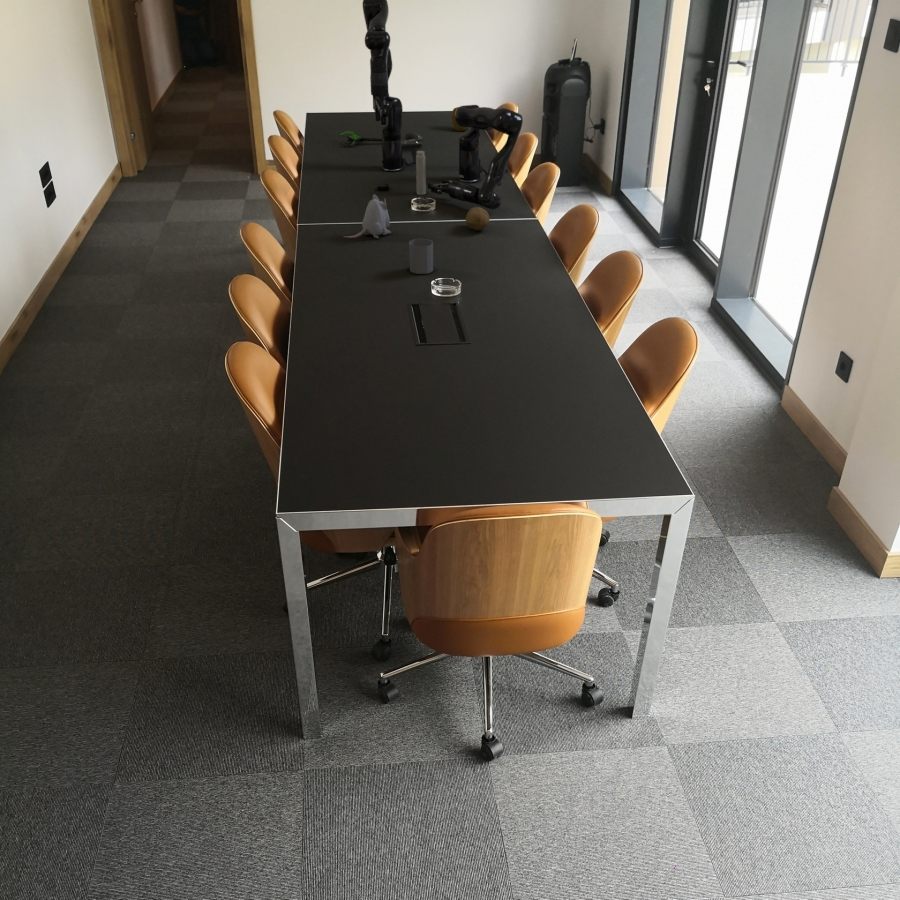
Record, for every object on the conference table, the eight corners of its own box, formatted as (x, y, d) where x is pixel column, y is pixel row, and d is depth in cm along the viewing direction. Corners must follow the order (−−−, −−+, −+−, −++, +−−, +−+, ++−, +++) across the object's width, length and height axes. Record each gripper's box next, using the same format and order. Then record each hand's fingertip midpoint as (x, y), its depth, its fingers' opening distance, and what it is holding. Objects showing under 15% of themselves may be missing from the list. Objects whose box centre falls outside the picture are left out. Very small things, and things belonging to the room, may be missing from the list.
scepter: (394, 128, 464) (338, 126, 462) (394, 143, 457) (337, 141, 455) (394, 137, 469) (338, 135, 467) (394, 152, 462) (337, 150, 460)
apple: (471, 132, 486) (471, 108, 479) (451, 132, 486) (451, 108, 479) (470, 128, 495) (471, 104, 488) (452, 128, 495) (452, 104, 488)
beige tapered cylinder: (421, 195, 385) (421, 153, 375) (414, 193, 387) (413, 151, 377) (428, 193, 388) (427, 151, 378) (420, 191, 390) (420, 149, 380)
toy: (396, 233, 341) (395, 195, 333) (351, 248, 326) (349, 209, 318) (381, 228, 346) (379, 190, 338) (336, 243, 332) (333, 204, 324)
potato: (487, 223, 352) (488, 203, 348) (491, 234, 340) (491, 214, 336) (463, 223, 351) (463, 204, 347) (466, 235, 340) (466, 214, 335)
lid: (378, 188, 395) (377, 183, 393) (389, 188, 395) (388, 183, 393) (377, 191, 390) (377, 186, 389) (388, 191, 390) (388, 186, 389)
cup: (409, 265, 311) (408, 238, 306) (432, 265, 312) (431, 238, 307) (410, 274, 304) (409, 246, 299) (433, 273, 305) (433, 246, 299)
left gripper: (366, 80, 373) (368, 120, 381) (375, 86, 361) (377, 127, 370) (382, 79, 375) (384, 119, 384) (392, 85, 364) (394, 125, 372)
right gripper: (473, 179, 371) (446, 171, 380) (449, 185, 362) (423, 178, 372) (473, 196, 375) (447, 189, 384) (449, 203, 366) (423, 195, 376)
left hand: (380, 122), depth 377 cm, fingers open, 8 cm apart
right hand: (435, 183), depth 378 cm, fingers open, 8 cm apart
